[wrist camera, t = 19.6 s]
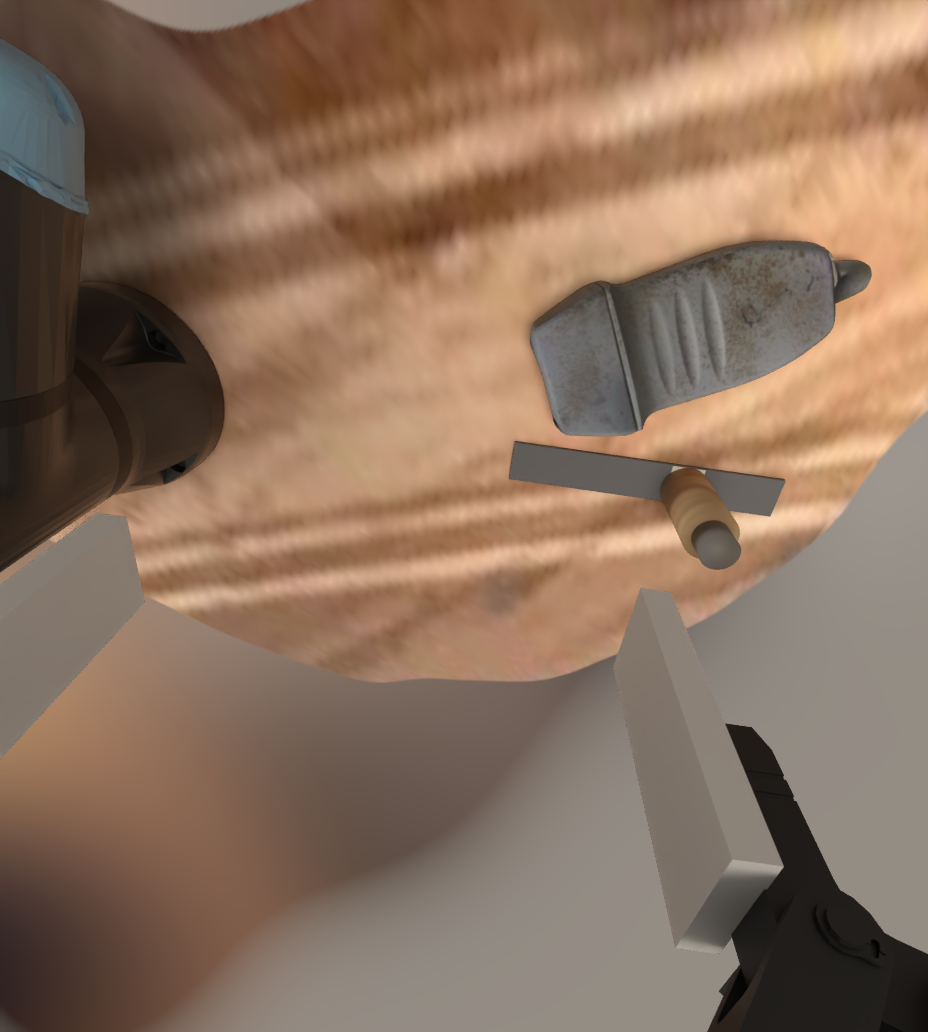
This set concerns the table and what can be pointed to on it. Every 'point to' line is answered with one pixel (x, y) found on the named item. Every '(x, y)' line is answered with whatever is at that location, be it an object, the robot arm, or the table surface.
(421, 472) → the table surface
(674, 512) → the tan bottle
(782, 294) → the handheld device
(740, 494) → the strip
